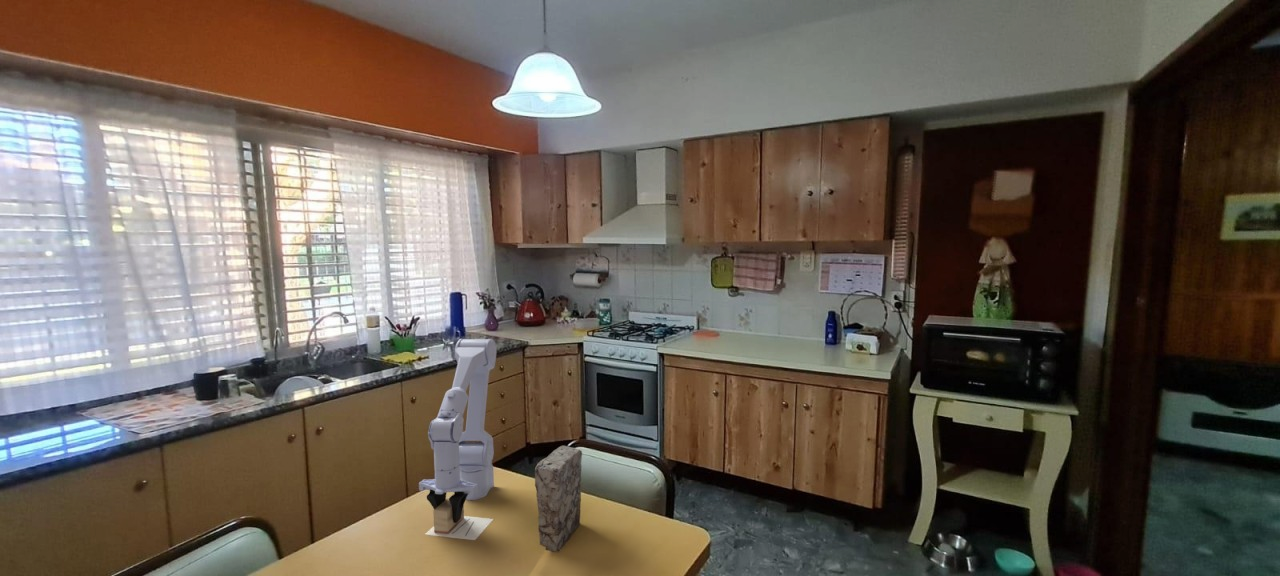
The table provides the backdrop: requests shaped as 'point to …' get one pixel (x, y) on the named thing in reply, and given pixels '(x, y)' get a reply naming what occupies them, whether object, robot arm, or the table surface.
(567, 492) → the stone block
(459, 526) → the board
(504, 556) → the table surface
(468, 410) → the robot arm
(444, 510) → the block
